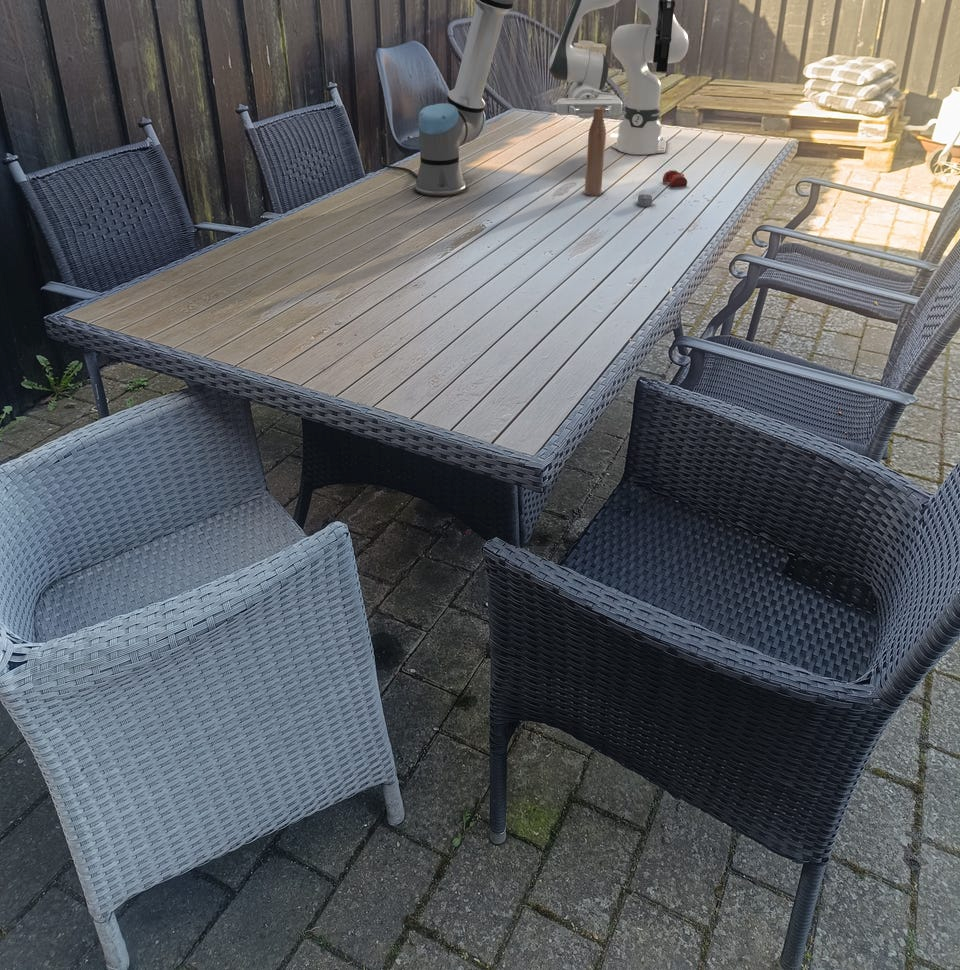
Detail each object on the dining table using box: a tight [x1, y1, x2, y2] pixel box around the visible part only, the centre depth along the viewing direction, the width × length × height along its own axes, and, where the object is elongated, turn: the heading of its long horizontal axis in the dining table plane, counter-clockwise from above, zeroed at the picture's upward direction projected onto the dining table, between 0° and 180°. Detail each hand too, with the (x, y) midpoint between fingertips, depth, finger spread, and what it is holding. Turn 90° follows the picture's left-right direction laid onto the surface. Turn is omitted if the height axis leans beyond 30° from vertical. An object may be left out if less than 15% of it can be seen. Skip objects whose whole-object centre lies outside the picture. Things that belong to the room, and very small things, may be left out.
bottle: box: [583, 107, 607, 197], centre depth 249 cm, size 5×5×24 cm
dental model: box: [662, 169, 688, 188], centre depth 261 cm, size 6×4×8 cm
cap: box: [636, 193, 653, 208], centre depth 246 cm, size 4×4×2 cm
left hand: (659, 67), depth 225 cm, fingers open, 13 cm apart
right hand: (592, 112), depth 254 cm, fingers open, 8 cm apart
